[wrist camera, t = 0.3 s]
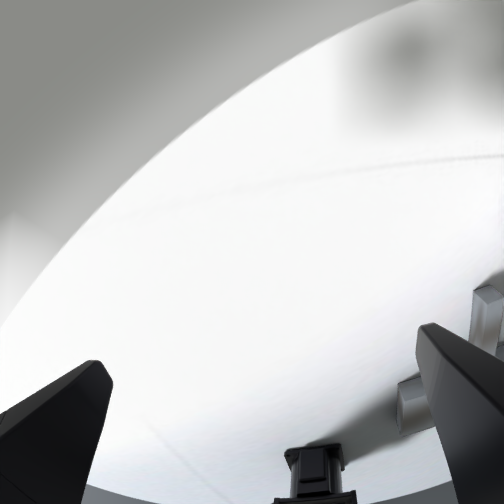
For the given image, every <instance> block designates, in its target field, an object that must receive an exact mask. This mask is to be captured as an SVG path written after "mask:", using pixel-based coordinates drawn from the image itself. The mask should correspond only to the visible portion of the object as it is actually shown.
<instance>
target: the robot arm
mask: <svg viewBox="0 0 504 504" xmlns="http://www.w3.org/2000/svg"><path fill="white" fill-rule="evenodd" d="M416 360H417V363H418V367H419V370H420V374H421V378H422V382H423V386H424V389H425V394H426V398H427V402H428V405H429V409H430V412H431V415H432V418H433V421H434V423H435V426H436V429H437V432H438V435H439V438H440V441H441V444H442V447H443V450H444V453H445V457H446V460H447V463H448V466H449V470H450V473H451V477H452V480H453V484H454V488H455V491H456V495H457V499H458V503H459V504H504V361H502V360H500V359H499V358H497V357H495V356H493V355H492V354H490V353H488V352H486V351H485V350H483V349H481V348H479V347H477V346H476V345H474V344H472V343H470V342H469V341H467V340H465V339H463V338H461V337H460V336H458V335H456V334H454V333H452V332H451V331H449V330H447V329H445V328H443V327H441V326H440V325H438V324H436V323H428V324H425V325H421V326H420V327H419V329H418V334H417V343H416ZM112 389H113V381H112V378H111V377H110V375H109V373H108V372H107V370H106V368H105V367H104V365H103V364H102V362H100V361H99V360H88V361H86V362H84V363H83V364H81V365H80V366H78V367H76V368H75V369H73V370H72V371H70V372H68V373H67V374H65V375H63V376H62V377H60V378H59V379H57V380H55V381H54V382H52V383H50V384H49V385H47V386H45V387H44V388H42V389H41V390H39V391H37V392H36V393H34V394H32V395H31V396H29V397H27V398H26V399H24V400H23V401H21V402H19V403H18V404H16V405H14V406H13V407H11V408H9V409H8V410H7V411H4V412H3V413H1V414H0V504H81V501H82V497H83V494H84V490H85V486H86V483H87V479H88V475H89V472H90V468H91V465H92V462H93V458H94V455H95V452H96V448H97V445H98V442H99V439H100V436H101V433H102V430H103V426H104V422H105V418H106V414H107V409H108V405H109V401H110V397H111V393H112ZM284 457H285V459H286V461H287V464H288V466H289V468H290V470H291V489H290V498H274V503H272V504H357V497H356V490H352V491H351V492H344V493H342V479H341V471H344V470H345V467H344V459H343V452H342V445H341V444H333V445H327V446H321V447H315V448H307V449H299V450H291V451H286V452H284Z"/></svg>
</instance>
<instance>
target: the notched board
mask: <svg viewBox="0 0 504 504" xmlns="http://www.w3.org/2000/svg"><path fill="white" fill-rule="evenodd" d="M503 307H504V296H503V295H501V294H500V293H499V292H498V291H497V290H496V289H495V288H493V287H492V286H491V285H488V286H486V287H483V288H480V289H477V290H474V291H473V303H472V315H471V325H470V333H469V342H470V343H472V344H474V345H476V346H477V347H479V348H481V349H483V350H485V351H486V352H488V353H490V354H492V355H493V356H495V357H497V358H499V359H500V360H502V361H504V345H502V346H500V347H498V348H497V343H498V338H499V333H500V327H501V321H502V314H503ZM396 421H397V425H398V428H399V432H400V435H401V437H404V436H407V435H411V434H414V433H417V432H420V431H423V430H426V429H429V428H432V427H435V423H434V421H433V418H432V415H431V412H430V409H429V405H428V402H427V398H426V394H425V389H424V386H423V382H422V378H421V377H419V378H415V379H412V380H409V381H405V382H402V383H398V398H397V416H396Z"/></svg>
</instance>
